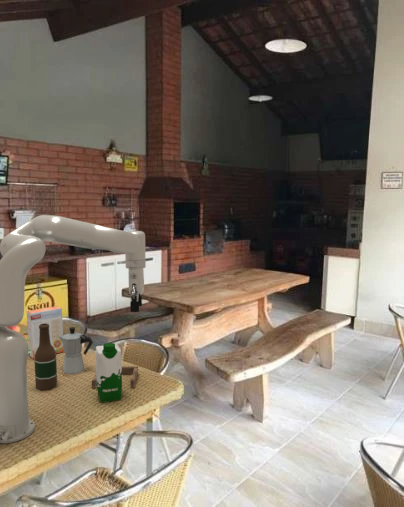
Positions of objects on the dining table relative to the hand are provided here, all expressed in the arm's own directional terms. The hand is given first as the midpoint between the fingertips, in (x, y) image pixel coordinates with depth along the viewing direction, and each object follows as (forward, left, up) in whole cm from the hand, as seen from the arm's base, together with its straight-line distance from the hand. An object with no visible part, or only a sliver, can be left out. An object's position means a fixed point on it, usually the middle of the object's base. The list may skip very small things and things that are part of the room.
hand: (136, 308), depth 163 cm
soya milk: (-16, +8, -28) cm, 33 cm away
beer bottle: (-7, +33, -28) cm, 44 cm away
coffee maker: (+8, +26, -28) cm, 39 cm away
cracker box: (+26, +44, -28) cm, 58 cm away
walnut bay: (-2, +8, -28) cm, 29 cm away
